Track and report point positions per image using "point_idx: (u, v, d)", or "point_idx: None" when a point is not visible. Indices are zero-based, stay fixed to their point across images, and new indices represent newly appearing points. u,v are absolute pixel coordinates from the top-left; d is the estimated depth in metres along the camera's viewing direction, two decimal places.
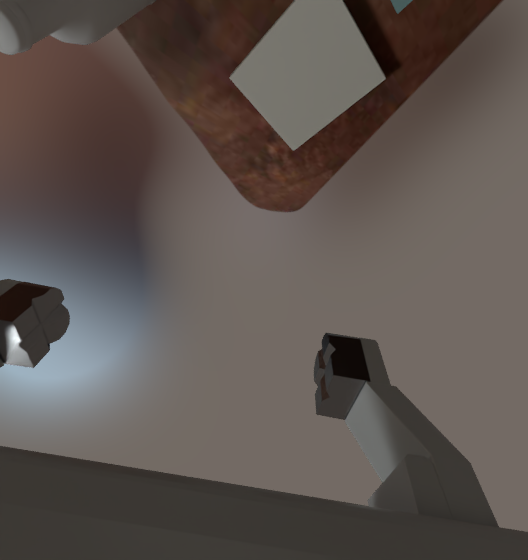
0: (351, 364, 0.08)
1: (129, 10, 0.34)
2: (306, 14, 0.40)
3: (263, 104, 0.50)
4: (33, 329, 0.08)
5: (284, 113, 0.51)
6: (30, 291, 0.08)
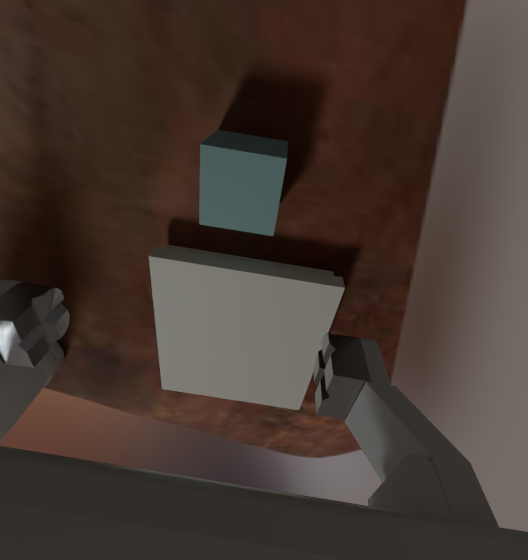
0: (351, 364, 0.08)
1: None
2: (176, 301, 0.27)
3: (218, 390, 0.34)
4: (33, 329, 0.08)
5: (249, 386, 0.33)
6: (30, 291, 0.08)
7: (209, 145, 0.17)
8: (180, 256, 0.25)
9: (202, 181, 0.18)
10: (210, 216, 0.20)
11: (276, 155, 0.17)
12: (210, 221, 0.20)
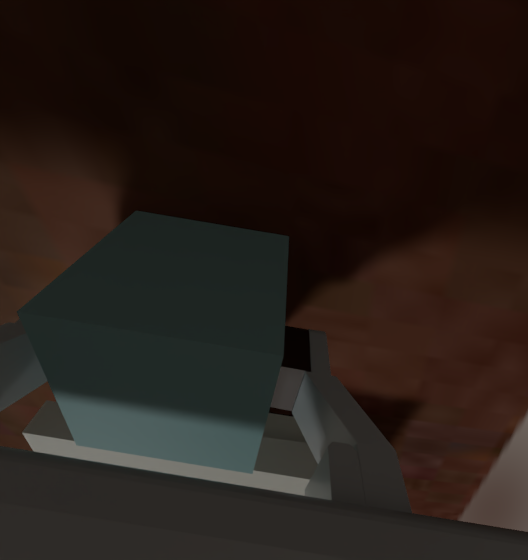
0: (294, 355, 0.08)
1: None
2: None
3: None
4: None
5: None
6: None
7: (47, 312, 0.06)
8: None
9: (55, 382, 0.07)
10: (97, 436, 0.08)
11: (252, 334, 0.06)
12: (99, 444, 0.08)
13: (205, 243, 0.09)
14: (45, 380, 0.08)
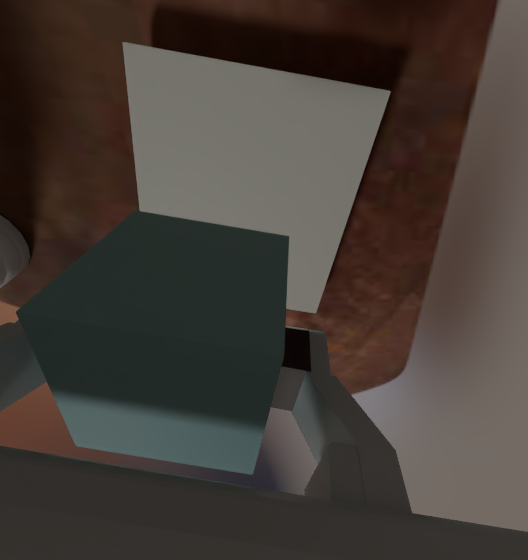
0: (294, 355, 0.08)
1: None
2: (162, 128, 0.20)
3: None
4: None
5: None
6: None
7: (46, 312, 0.06)
8: None
9: (54, 383, 0.07)
10: (97, 437, 0.08)
11: (253, 334, 0.06)
12: (99, 444, 0.08)
13: (205, 243, 0.09)
14: (45, 380, 0.08)
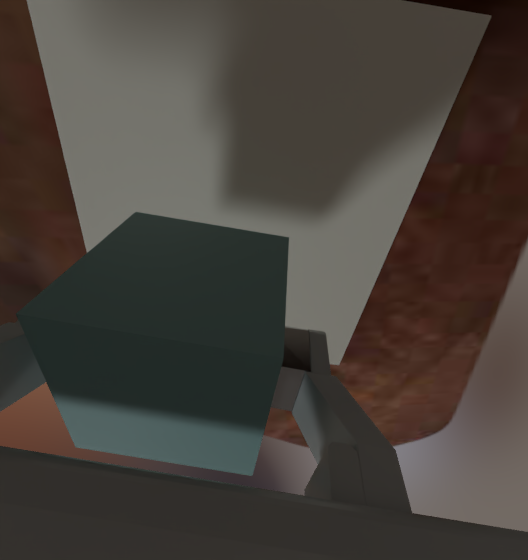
0: (294, 354, 0.08)
1: None
2: (98, 96, 0.12)
3: None
4: None
5: None
6: None
7: (46, 314, 0.06)
8: None
9: (54, 385, 0.07)
10: (97, 438, 0.08)
11: (252, 336, 0.06)
12: (99, 446, 0.08)
13: (205, 244, 0.09)
14: (45, 380, 0.08)
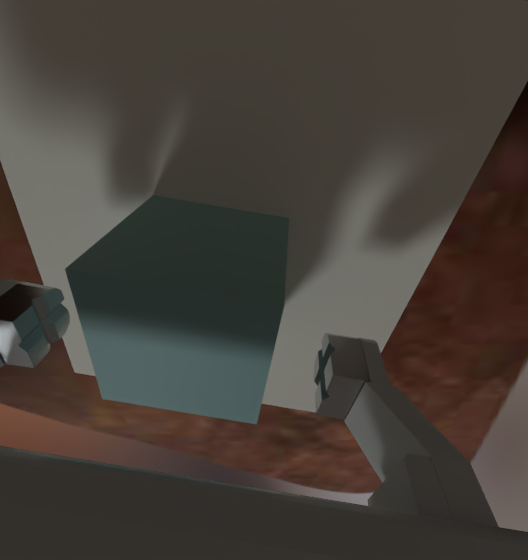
0: (351, 364, 0.08)
1: None
2: (44, 112, 0.10)
3: None
4: (33, 329, 0.08)
5: None
6: (30, 291, 0.08)
7: (89, 270, 0.07)
8: None
9: (89, 336, 0.08)
10: (122, 389, 0.09)
11: (258, 290, 0.07)
12: (123, 397, 0.09)
13: (215, 222, 0.10)
14: None
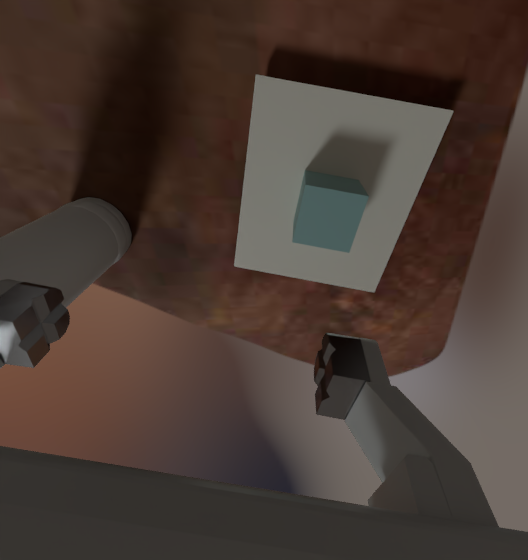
0: (351, 364, 0.08)
1: None
2: (272, 137, 0.26)
3: (292, 266, 0.33)
4: (33, 329, 0.08)
5: (327, 259, 0.32)
6: (30, 291, 0.08)
7: (311, 185, 0.23)
8: None
9: (301, 210, 0.24)
10: (302, 236, 0.26)
11: (359, 193, 0.24)
12: (301, 240, 0.26)
13: (334, 178, 0.26)
14: None
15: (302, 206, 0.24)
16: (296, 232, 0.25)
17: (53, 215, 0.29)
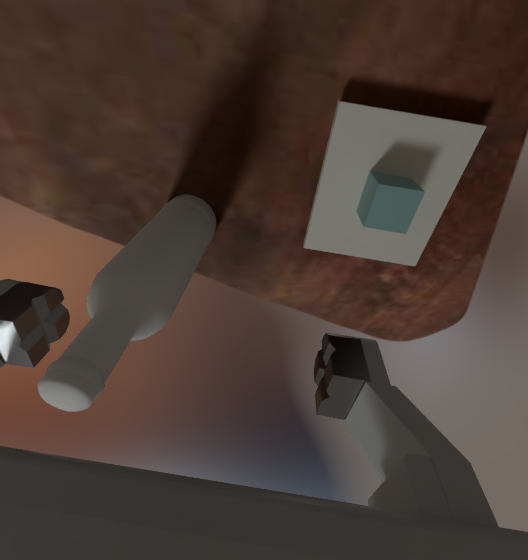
0: (351, 364, 0.08)
1: (190, 266, 0.34)
2: (347, 147, 0.34)
3: (351, 246, 0.42)
4: (33, 329, 0.08)
5: (379, 240, 0.41)
6: (30, 291, 0.08)
7: (383, 184, 0.32)
8: (360, 104, 0.33)
9: (373, 203, 0.33)
10: (371, 222, 0.34)
11: (417, 189, 0.32)
12: (370, 225, 0.34)
13: (393, 178, 0.35)
14: None
15: (374, 199, 0.33)
16: (367, 219, 0.34)
17: (171, 210, 0.38)
